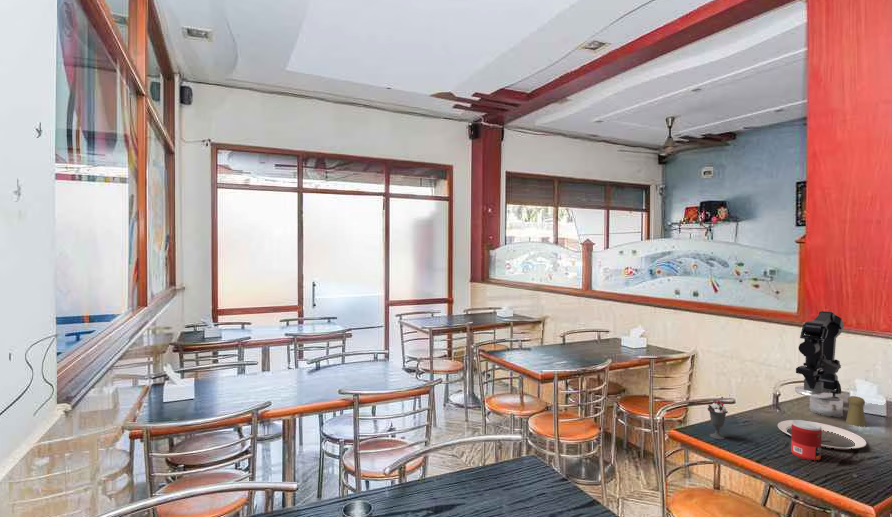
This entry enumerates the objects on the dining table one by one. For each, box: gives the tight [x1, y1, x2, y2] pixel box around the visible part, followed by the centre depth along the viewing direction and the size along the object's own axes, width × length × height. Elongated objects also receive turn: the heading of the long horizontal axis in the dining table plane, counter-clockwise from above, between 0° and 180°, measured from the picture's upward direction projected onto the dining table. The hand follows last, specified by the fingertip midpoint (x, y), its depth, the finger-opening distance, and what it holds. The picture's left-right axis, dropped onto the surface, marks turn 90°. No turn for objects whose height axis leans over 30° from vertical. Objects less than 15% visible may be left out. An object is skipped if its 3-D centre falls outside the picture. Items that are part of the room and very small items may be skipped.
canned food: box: [790, 419, 823, 462], centre depth 154 cm, size 8×8×11 cm
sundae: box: [707, 396, 729, 441], centre depth 169 cm, size 7×7×15 cm
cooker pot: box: [809, 395, 844, 418], centre depth 196 cm, size 11×11×7 cm
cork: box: [845, 395, 867, 428], centre depth 183 cm, size 6×6×11 cm
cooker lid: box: [794, 378, 833, 398], centre depth 193 cm, size 13×13×6 cm
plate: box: [777, 419, 867, 450], centre depth 170 cm, size 26×26×2 cm
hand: (813, 388), depth 193 cm, fingers closed on cooker lid, 2 cm apart
